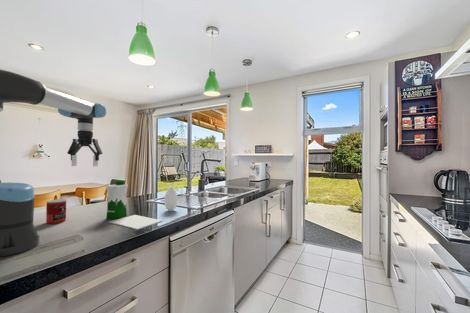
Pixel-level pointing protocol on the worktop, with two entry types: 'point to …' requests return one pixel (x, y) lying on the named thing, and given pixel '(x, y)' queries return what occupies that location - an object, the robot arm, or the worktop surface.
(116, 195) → the soya milk
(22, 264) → the worktop surface
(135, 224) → the mat
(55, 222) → the canned food
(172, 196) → the sauce bottle
